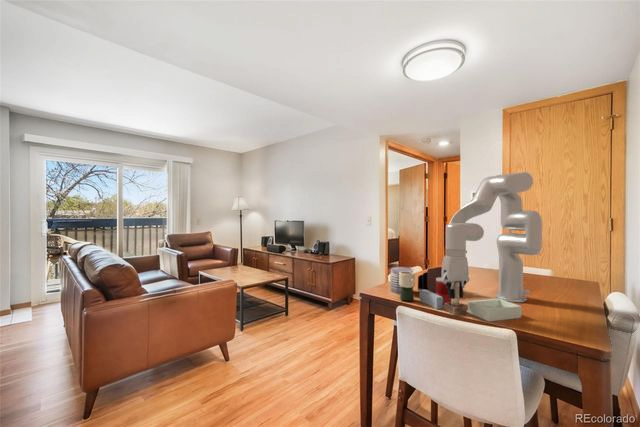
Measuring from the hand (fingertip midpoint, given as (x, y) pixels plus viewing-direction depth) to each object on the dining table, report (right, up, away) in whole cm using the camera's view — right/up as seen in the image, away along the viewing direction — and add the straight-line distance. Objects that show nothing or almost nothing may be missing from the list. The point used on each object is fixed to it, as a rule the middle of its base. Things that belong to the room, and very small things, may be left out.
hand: (455, 297), depth 114 cm
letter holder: (+7, -7, +29) cm, 31 cm away
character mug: (-15, -6, +15) cm, 22 cm away
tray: (+14, -6, -3) cm, 16 cm away
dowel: (0, -6, 0) cm, 6 cm away
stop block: (-6, -6, +9) cm, 13 cm away
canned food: (+1, -6, +11) cm, 13 cm away
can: (-14, -6, +29) cm, 33 cm away
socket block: (0, -6, 0) cm, 6 cm away
